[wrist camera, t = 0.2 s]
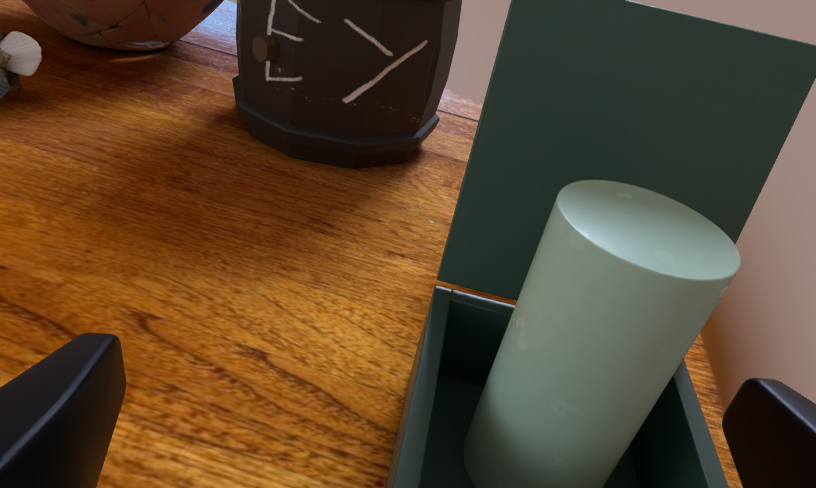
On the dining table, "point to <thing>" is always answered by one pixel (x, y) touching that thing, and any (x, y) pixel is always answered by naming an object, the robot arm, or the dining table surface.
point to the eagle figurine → (17, 59)
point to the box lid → (618, 123)
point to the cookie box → (463, 385)
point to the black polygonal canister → (344, 75)
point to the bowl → (124, 20)
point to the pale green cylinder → (595, 335)
